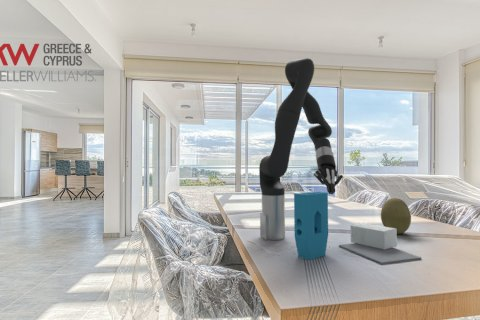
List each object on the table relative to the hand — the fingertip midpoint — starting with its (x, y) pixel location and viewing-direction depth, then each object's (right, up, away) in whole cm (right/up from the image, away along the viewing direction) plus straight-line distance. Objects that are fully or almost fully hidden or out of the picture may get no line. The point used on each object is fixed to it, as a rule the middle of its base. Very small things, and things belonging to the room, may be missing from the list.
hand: (331, 193), depth 118 cm
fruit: (+29, -18, +6) cm, 35 cm away
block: (-14, -18, -24) cm, 33 cm away
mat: (+8, -17, -21) cm, 29 cm away
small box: (+7, -14, -8) cm, 17 cm away
